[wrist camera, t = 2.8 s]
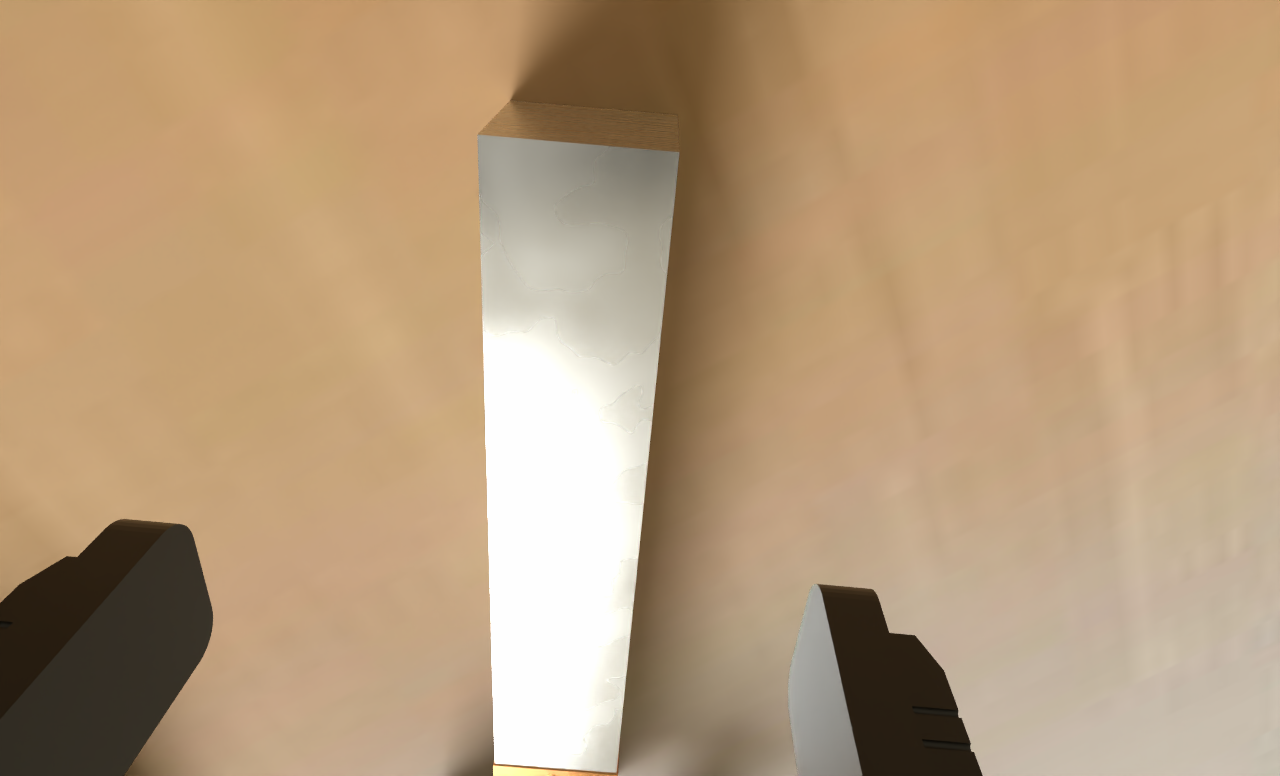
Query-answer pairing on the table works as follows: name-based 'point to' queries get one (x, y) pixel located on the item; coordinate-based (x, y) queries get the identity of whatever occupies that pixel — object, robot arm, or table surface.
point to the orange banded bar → (568, 413)
